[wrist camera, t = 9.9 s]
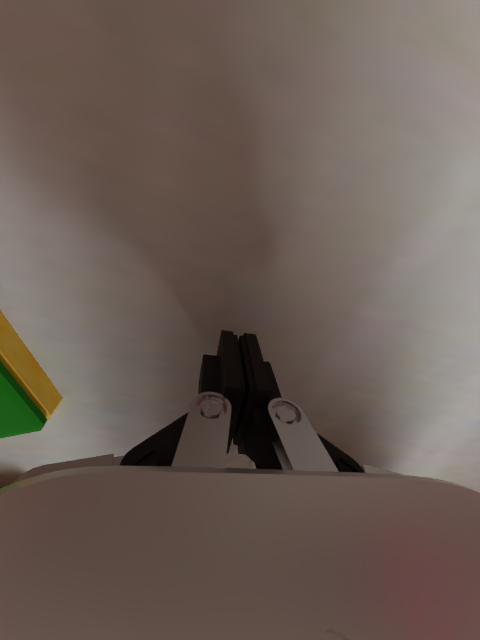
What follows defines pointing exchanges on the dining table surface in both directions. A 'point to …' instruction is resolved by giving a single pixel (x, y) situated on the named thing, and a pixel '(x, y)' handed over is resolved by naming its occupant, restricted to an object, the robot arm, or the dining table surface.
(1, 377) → the dish sponge
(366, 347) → the dining table surface
